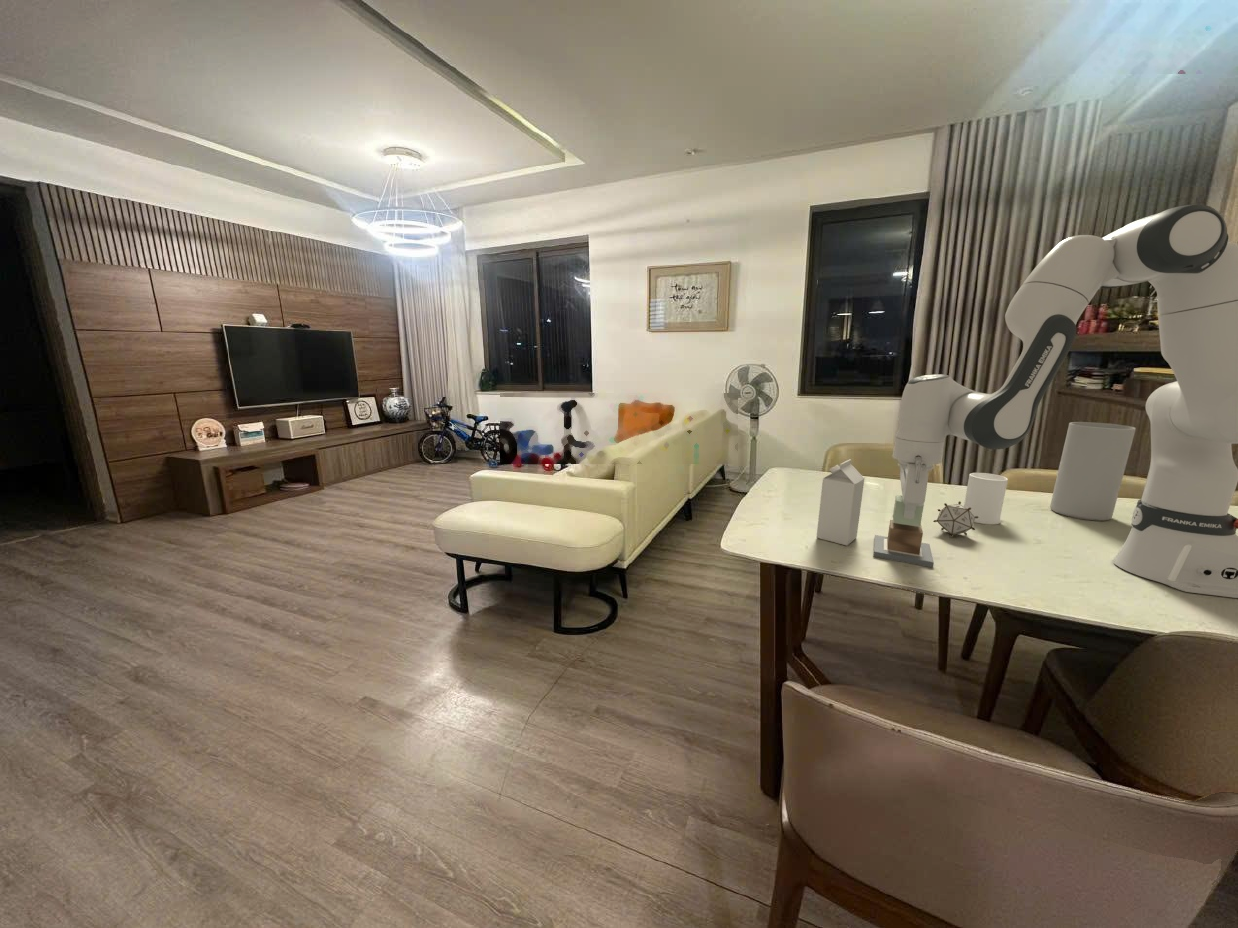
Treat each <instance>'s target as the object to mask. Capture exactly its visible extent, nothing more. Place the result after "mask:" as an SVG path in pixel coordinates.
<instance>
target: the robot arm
mask: <svg viewBox="0 0 1238 928" xmlns="http://www.w3.org/2000/svg"><path fill="white" fill-rule="evenodd" d="M1226 223H1227V222H1225V219H1224V217H1223V216H1222V214H1221V213H1220V212H1219V211H1218V210H1217V209H1216V208H1213V207H1211V206H1209V205H1207V204H1199V203H1198V204H1194V203H1193V204H1187V205H1180V206H1176V207H1175V206H1174V207H1171V208H1168V209H1165V210H1163V211H1161V212H1159V213H1155V214H1151V215H1149V216H1146V217H1142V218H1140V219H1137V220H1134V221H1132V222H1130V223H1127V224H1126V225H1124V226H1123V227H1120V228H1119V229H1116V230H1114V231H1112V232H1110V233H1107V234H1103V235H1102V236H1096V235H1090V234H1078V235H1072V236H1070V237H1067V238H1065V239H1063V240H1062V241H1060V242H1059V243H1057V244H1056V245H1055V246H1054V247H1053V248H1052V249H1051V250H1049V252H1048V253H1047V254H1046V255H1045V256H1044V257H1043V258H1042V259H1041V260H1040V261H1039V263H1038V264H1037V265H1036V266H1035V267H1034V269H1033V270H1032V271H1031V272H1030V274H1029V275H1028V276H1027V277H1026V279H1025V280H1024V281H1023V283H1022V284H1021V286H1020V287H1019V289H1018V290H1017V292H1016V293H1015V294H1014V296H1013V297H1012V299H1011V300H1010V302H1009V305H1008V306H1007V308H1006V312H1005V313H1004V314H1005V315H1004V319H1005V324H1006V326H1007V328H1008V330H1009V331H1010V332H1011V334H1013V335H1014V336H1015V337H1016V338H1019V340H1021V341H1022V346H1023V347H1022V351H1021V354H1020V355H1019V357H1018V359H1017V360H1016V362H1015V364H1014V366H1012V367H1013V368H1012V370H1011V371H1010V373H1009V374H1008V376H1007V378H1006V379H1005V380H1004V383H1003V385H1001V387H1000V388H999V389H998V390H997V391H995V392H992V393H984V392H980V391H975V390H974V389H970V388H968V387H965V386H964V385H962V384H960V383H959V382H957V381H955V380H954V379H953V378H952V377H951V376H950V375H947V374H941V373H939V374H937V373H936V374H927V375H926V374H925V375H921V376H920V375H919V376H916V377H914V378H912V379H910V380H909V381H907V383H906V385H905V386H904V390H903V392H902V396H901V399H900V404H899V409H898V417H897V418H898V424H899V425H898V429H897V431H896V433H895V436H894V437H895V438H894V443H893V444H894V446H893V451H892V459H894V460H897V461H898V463H897V466H898V467H899V479H900V480H899V481H900V488H901V496H903V503H904V504H905V509H904V518H906V519H913V518H914V513H915V510H916V507H917V506H923V504H924V505H925V501H926V495H927V489H928V480H929V471H932V470H934V469H933V468H934V465H938V464H941V462H942V458H943V452H944V446H945V442H946V441H945V440H946V438H947V436H949V435H952V436H954V437H957V438H959V439H962V440H966V441H970V442H973V443H975V444H977V445H978V446H981V447H983V448H986V449H989V450H1003V449H1007V448H1011V447H1013V446H1015V445H1017V444H1018V443H1020V442H1021V441H1023V439H1024V438H1025V437H1026V436H1028V434H1029V432H1030V431H1031V429H1032V428H1033V427H1032V426H1033V424H1034V421H1035V417H1036V414H1037V410H1038V408H1039V405H1040V403H1041V401H1042V399H1043V397H1044V395H1045V394H1046V392H1047V390H1048V388H1049V386H1050V385H1051V383H1052V381H1053V380H1054V378H1055V376H1056V375H1057V373H1058V372H1059V369H1061V366H1062V364H1063V363H1064V361H1065V359H1066V358H1067V356H1068V353H1069V352H1070V350H1071V348H1072V346H1073V343H1074V341H1075V339H1076V335H1077V322H1078V321H1079V319H1080V317H1081V316H1082V314H1083V312H1084V311H1085V309H1086V308H1087V307H1088V305H1089V304H1090V302H1091V301H1092V300H1093V298H1094V296H1095V295H1096V294H1097V292H1098V290H1100V289H1104V290H1107V289H1116V288H1119V287H1122V286H1128V285H1129V286H1130V285H1135V284H1140V283H1145V282H1148V283H1149V284H1151V285H1152V286H1153V288H1154V290H1155V291H1156V294H1157V299H1156V300H1157V304H1156V305H1157V307H1156V308H1157V321H1158V331H1159V340H1160V341H1159V344H1160V354H1161V356H1162V357H1163V359H1164V361H1166V362H1167V363H1168V365H1169V367H1170V368H1171V371H1172V372H1173V374H1174V377H1175V379H1176V381H1173V382H1169V383H1166V384H1164V385H1161V386H1159V387H1158V388H1157V389H1154V391H1153V392H1152V393H1150V395H1149V396H1148V398H1147V400H1146V401H1145V412H1146V415H1147V416H1148V418H1149V419H1148V420H1149V423H1150V464H1149V470H1148V474H1147V477H1146V481H1145V484H1144V488H1143V493H1142V496H1141V498H1140V499H1137V503H1136V506H1135V508H1134V510H1133V512H1132V518H1131V529H1130V531H1129V533H1128V536H1127V537H1126V539H1125V541H1124V543H1123V545H1122V546H1121V548H1120V550H1119V551H1118V552H1117V554H1116V555H1115V556H1114V557H1113V558H1112V562H1113V564H1114V565H1116V566H1117V567H1119V568H1120V569H1123V570H1124V571H1126V572H1129V573H1131V574H1134V575H1136V576H1139V577H1142V578H1145V579H1148V580H1151V581H1154V582H1157V583H1161V584H1164V585H1166V586H1169V587H1171V588H1173V589H1176V590H1179V591H1182V592H1186V593H1193V594H1200V595H1210V596H1215V597H1216V596H1219V597H1226V598H1234V599H1238V535H1237V532H1236V531H1237V530H1238V517H1235V516H1234V515H1232V514H1230V513H1229V509H1230V507H1231V505H1232V502H1233V497H1234V495H1235V492H1236V488H1237V485H1238V467H1237V465H1236V463H1235V460H1234V458H1233V449H1232V444H1233V445H1234V444H1236V445H1237V444H1238V243H1235V242H1233V241H1229V234H1228V228H1227V227H1228V226H1227V224H1226Z"/></svg>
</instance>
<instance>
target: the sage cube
mask: <svg viewBox="0 0 1238 928" xmlns="http://www.w3.org/2000/svg"><path fill="white" fill-rule="evenodd" d="M924 506H925V503H924V504H923V506H917V507H916V510H915V513H914V518H913V519H906V518H904V509H905V504H904V503H903V496H902V495H898V494H896V495H895V499H894V507H893V514H892V520H893V523H898V524H904V525H911V526H917V527H920V525H921V526H922V520H923V518H922V517H923V513H924Z"/></svg>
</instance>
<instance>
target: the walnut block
mask: <svg viewBox="0 0 1238 928" xmlns="http://www.w3.org/2000/svg"><path fill="white" fill-rule="evenodd" d="M923 535H924V531H923V527H922V524H921V525H920V527H917V526H911V525H904V524H898V523H893V519H890V521H889V527H888V534H887V537H888V539H887V549H889V550H894V551H900V552H905V553H911V554H917V555H919V554H920V548H921V543H923V541H922V540H923Z"/></svg>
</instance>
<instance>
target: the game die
mask: <svg viewBox="0 0 1238 928" xmlns="http://www.w3.org/2000/svg"><path fill="white" fill-rule="evenodd" d="M957 503H958V504H957ZM957 503H956V504H949V505H948V503H946V502H944V504H943V505H944V507H943V508H942V509H939V508H938V509H936V510H937V512H939V514H938V516H937V519H934V520H933V521H932V522H934V523H938V524H939V526H941V528H940V529H941V530H940V531H946V532H947V533H949V534H950V538H953V537H954V536H955V535H960V534H964V536H967V535H968V533H967V532H969V531H970V530H972V531H976V528H975V527H974V526H973V525H974V523H975V522H974V519H975V518H978V516H975V517H974V515H973V514H972V513H971V512H970V511H969V510H970V509H971V508H968V509H967V508H965V507H964V505H962V502H961V500H960V501H958V502H957ZM953 535H954V536H953Z"/></svg>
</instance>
